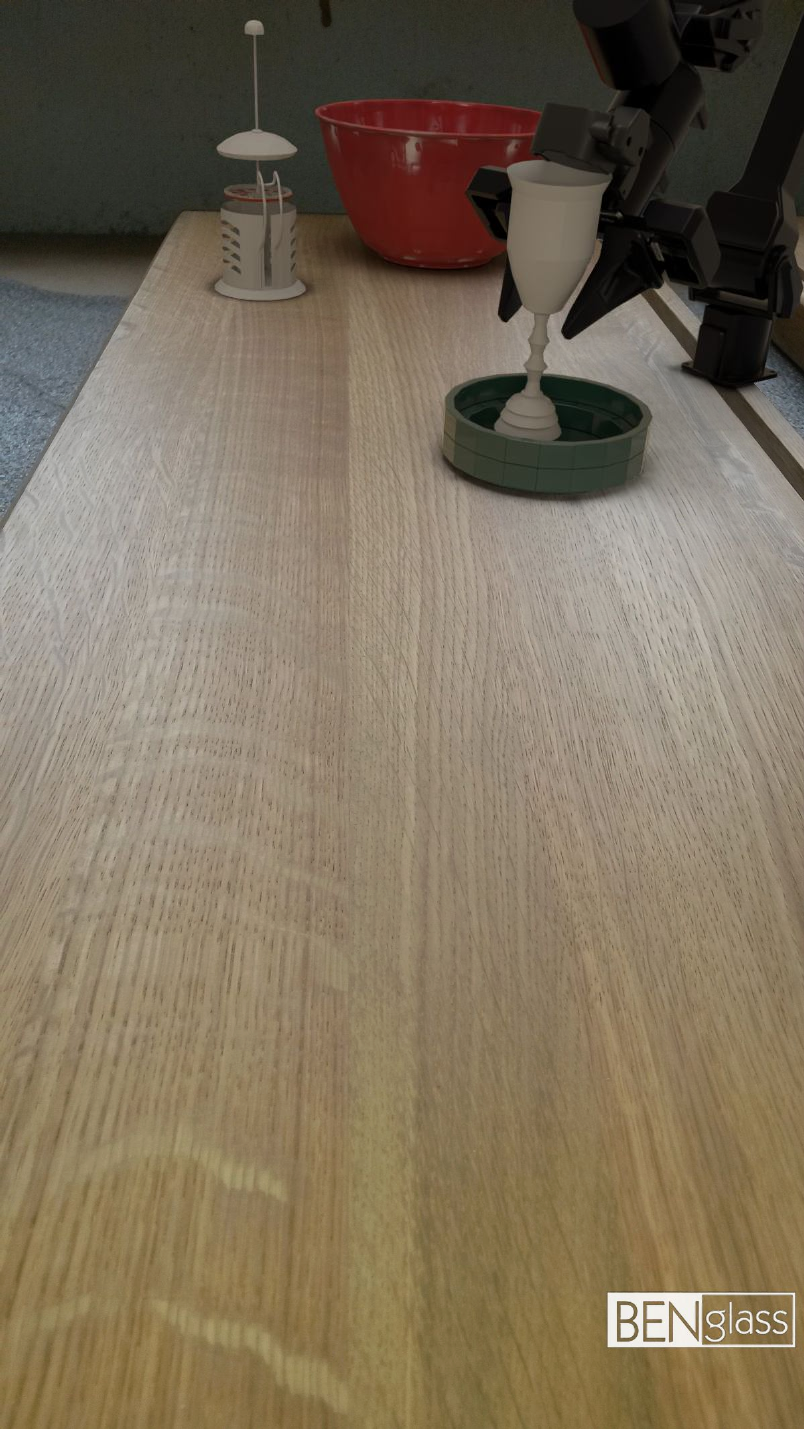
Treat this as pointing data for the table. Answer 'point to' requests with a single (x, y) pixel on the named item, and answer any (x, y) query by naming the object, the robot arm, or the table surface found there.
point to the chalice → (547, 270)
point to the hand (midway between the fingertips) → (532, 327)
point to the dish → (584, 458)
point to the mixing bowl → (421, 173)
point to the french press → (259, 218)
